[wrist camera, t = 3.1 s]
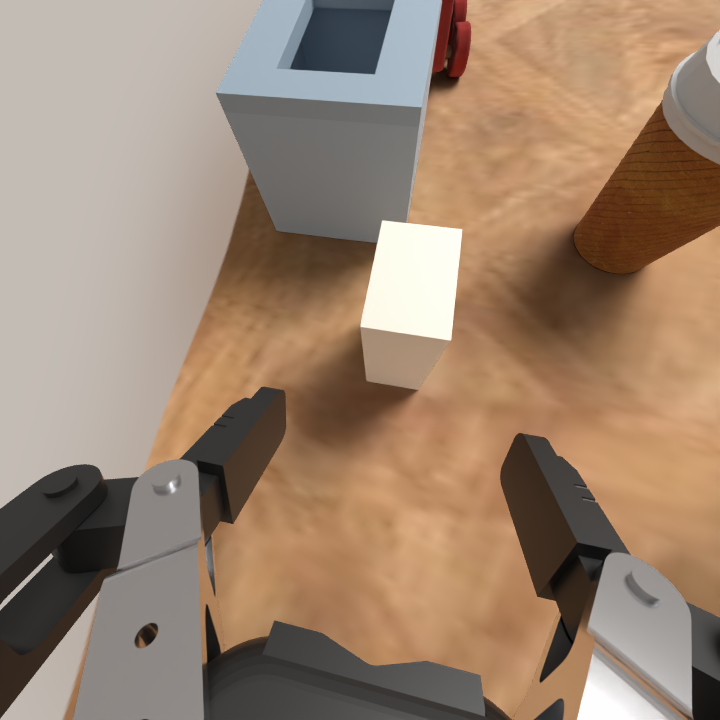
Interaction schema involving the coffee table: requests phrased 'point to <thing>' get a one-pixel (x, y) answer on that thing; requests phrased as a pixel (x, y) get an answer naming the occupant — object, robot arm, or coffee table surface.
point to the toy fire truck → (452, 38)
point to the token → (409, 302)
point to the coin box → (333, 110)
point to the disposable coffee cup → (662, 175)
